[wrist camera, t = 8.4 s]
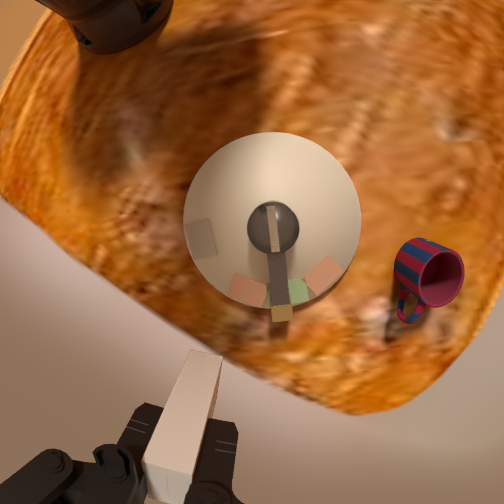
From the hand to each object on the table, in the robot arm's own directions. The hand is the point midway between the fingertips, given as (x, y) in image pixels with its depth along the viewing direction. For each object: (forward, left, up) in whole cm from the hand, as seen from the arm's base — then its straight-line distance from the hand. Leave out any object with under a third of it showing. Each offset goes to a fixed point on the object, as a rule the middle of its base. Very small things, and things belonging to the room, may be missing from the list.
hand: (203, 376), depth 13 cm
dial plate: (-4, +4, -23) cm, 23 cm away
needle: (0, +4, -21) cm, 21 cm away
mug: (+6, +20, -23) cm, 31 cm away
